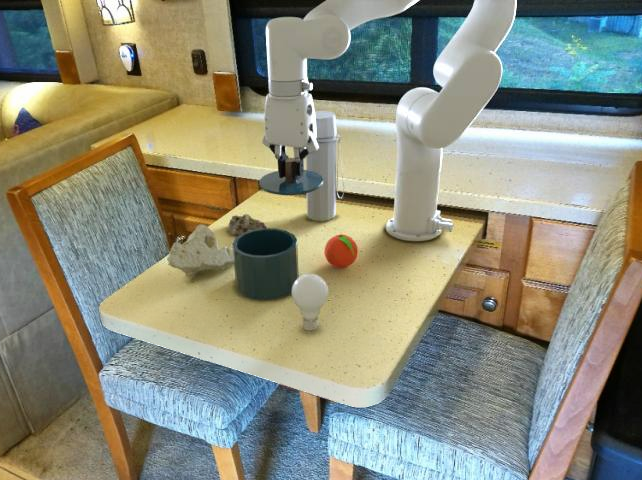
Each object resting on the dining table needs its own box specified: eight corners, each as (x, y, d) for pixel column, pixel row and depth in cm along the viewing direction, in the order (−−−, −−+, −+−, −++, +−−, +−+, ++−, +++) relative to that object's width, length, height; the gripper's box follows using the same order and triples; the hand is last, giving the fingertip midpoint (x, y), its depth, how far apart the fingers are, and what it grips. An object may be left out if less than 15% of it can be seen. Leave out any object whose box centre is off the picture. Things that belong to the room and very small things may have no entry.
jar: (309, 276, 123) (308, 235, 118) (277, 306, 114) (275, 263, 109) (258, 263, 129) (255, 223, 124) (224, 291, 120) (219, 249, 115)
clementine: (367, 270, 124) (368, 239, 120) (339, 279, 122) (339, 248, 118) (344, 255, 130) (345, 225, 126) (318, 263, 128) (317, 233, 124)
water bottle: (305, 223, 145) (302, 119, 132) (308, 209, 152) (305, 110, 138) (343, 223, 144) (344, 119, 130) (344, 210, 150) (345, 109, 137)
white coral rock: (224, 258, 136) (166, 227, 130) (242, 241, 132) (183, 207, 125) (214, 310, 127) (152, 279, 120) (234, 294, 122) (169, 260, 115)
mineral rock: (217, 224, 142) (237, 204, 146) (222, 237, 145) (241, 218, 149) (253, 235, 136) (273, 214, 140) (257, 249, 140) (276, 228, 143)
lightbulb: (286, 326, 109) (283, 273, 103) (315, 315, 111) (314, 263, 105) (305, 343, 104) (303, 289, 98) (335, 331, 106) (335, 278, 100)
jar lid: (334, 179, 129) (334, 154, 126) (303, 202, 120) (302, 175, 117) (280, 170, 136) (279, 146, 133) (247, 191, 126) (245, 165, 123)
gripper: (333, 86, 116) (333, 177, 125) (263, 80, 123) (268, 166, 133) (315, 95, 110) (316, 189, 120) (243, 88, 118) (249, 177, 128)
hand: (291, 176), depth 126 cm, fingers closed on jar lid, 2 cm apart
